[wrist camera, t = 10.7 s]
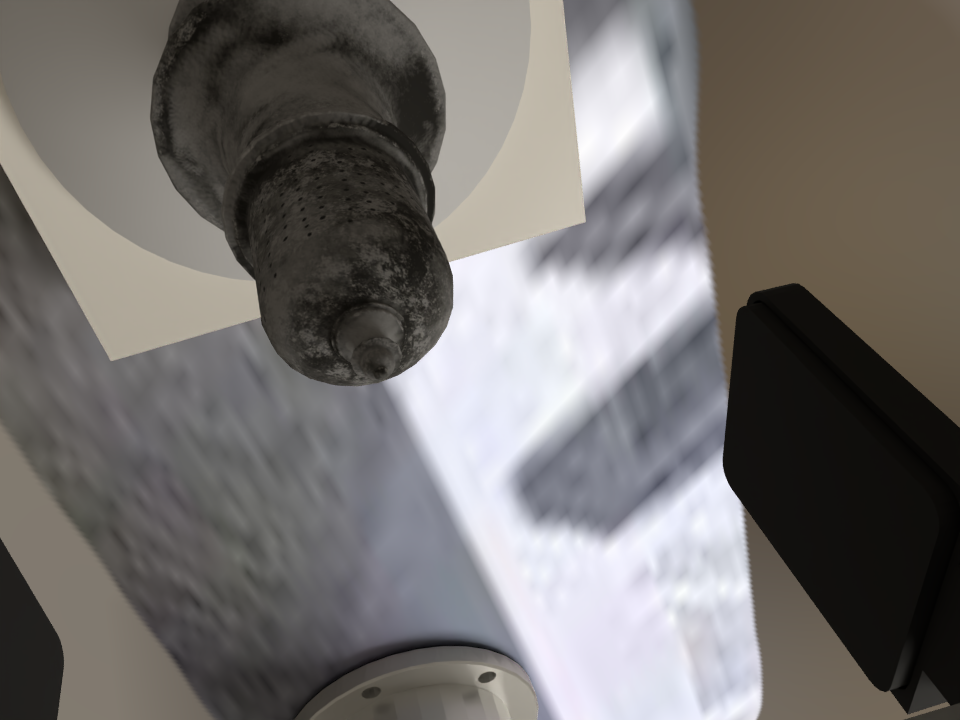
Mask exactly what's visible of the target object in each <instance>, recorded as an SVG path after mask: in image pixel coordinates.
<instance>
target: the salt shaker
mask: <svg viewBox="0 0 960 720" xmlns="http://www.w3.org/2000/svg"><path fill="white" fill-rule="evenodd" d="M150 122H151V126H152V131H153V136H154V140H155V145H156V150H157V154H158V157H159V159H160V161H161V163H162V165H163V167H164V169H165V170H166V172H167V174H168V176H169V178H170V180H171V182H172V184H173V186H174V187H175V189H176V190H177V192H178V193H179V194H180V195H181V196H182V197H183V198H184V199H185V200H186V201H187V202H188V203H189V204H190V206H191V207H192V208H193V209H194V210H195V211H196V212H197V213H198V214H199V215H200V216H201V217H202V218H204V219H205V220H207V221H208V222H210V223H211V224H213V225H215V226H216V227H218V228H219V229H221V230H222V231H224V232H225V238H226V240H227V242H228V244H229V246H230V248H231V250H232V252H233V254H234V256H235V258H236V260H237V262H238V263H239V264H240V265H241V266H242V267H243V268H244V269H245V270H246V271H247V272H248V274H249V275H250V276H251V277H252V278H253V279H254V280H255V281H256V288H257V295H258V302H259V309H260V315H261V322H262V326H263V328H264V330H265V332H266V334H267V336H268V338H269V340H270V342H271V344H272V346H273V347H274V349H275V351H276V352H277V354H278V355H279V356H280V357H281V358H282V359H283V360H284V361H285V362H286V363H287V364H288V365H289V366H290V367H291V368H292V369H294V370H296V371H298V372H299V373H301V374H303V375H305V376H307V377H308V378H310V379H314V380H317V381H321V382H325V383H328V384H332V385H341V386H362V385H368V384H374V383H379V382H382V381H384V380H387V379H390V378H392V377H395V376H398V375H399V374H401V373H402V372H404V371H406V370H407V369H409V368H410V367H412V366H413V365H415V364H416V363H417V362H418V361H419V360H420V359H421V358H422V357H423V356H424V355H425V354H426V353H427V352H428V351H430V350H431V349H432V348H433V347H434V346H435V344H436V343H437V341H438V340H439V338H440V337H441V335H442V333H443V332H444V330H445V329H446V327H447V324H448V321H449V318H450V315H451V311H452V308H453V275H452V272H451V269H450V265H449V262H448V259H447V256H446V253H445V251H444V249H443V247H442V245H441V243H440V241H439V239H438V237H437V234H436V232H435V230H434V228H433V226H432V222H433V219H434V215H435V185H434V182H433V179H432V175H431V173H432V171H433V169H434V167H435V166H436V164H437V161H438V157H439V154H440V150H441V146H442V142H443V138H444V134H445V131H446V93H445V89H444V86H443V82H442V79H441V75H440V71H439V68H438V64H437V61H436V58H435V56H434V55H433V53H432V51H431V50H430V48H429V46H428V45H427V43H426V41H425V40H424V38H423V36H422V35H421V33H420V31H419V30H418V28H417V26H416V25H415V24H414V23H413V22H412V21H411V20H410V19H409V18H408V17H407V16H406V15H405V14H404V13H403V12H402V11H401V10H400V9H399V8H397V7H396V6H395V5H394V4H393V3H392V2H391V1H390V0H179V2H178V5H177V7H176V10H175V13H174V15H173V18H172V20H171V23H170V26H169V31H168V41H167V43H166V46H165V48H164V51H163V53H162V56H161V59H160V61H159V64H158V66H157V69H156V71H155V74H154V77H153V84H152V97H151V110H150Z"/></svg>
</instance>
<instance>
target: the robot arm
mask: <svg viewBox="0 0 960 720" xmlns="http://www.w3.org/2000/svg"><path fill="white" fill-rule="evenodd" d="M723 468H724V473H725V476H726V479H727V481H728V483H729V485H730V487H731V488H732V490H733V491H734V493H735V494H736V495H737V497H738V498H739V500H740V501H741V502H742V504H743V505H744V506H745V508H746V509H747V511H748V512H749V513H750V515H751V516H752V518H753V519H754V520H755V522H756V523H757V524H758V526H759V527H760V529H761V530H762V531H763V533H764V534H765V536H766V537H767V538H768V540H769V541H770V543H771V544H772V545H773V547H774V548H775V550H776V551H777V552H778V554H779V555H780V557H781V558H782V559H783V560H784V562H785V563H786V565H787V566H788V568H789V569H790V570H791V572H792V573H793V575H794V576H795V577H796V579H797V580H798V582H799V583H800V584H801V586H802V587H803V588H804V590H805V591H806V593H807V594H808V595H809V597H810V598H811V600H812V601H813V602H814V604H815V605H816V607H817V608H818V609H819V611H820V612H821V613H822V615H823V616H824V618H825V619H826V620H827V622H828V623H829V625H830V626H831V627H832V629H833V630H834V631H835V633H836V634H837V636H838V637H839V638H840V640H841V641H842V643H843V644H844V645H845V647H846V648H847V650H848V651H849V652H850V654H851V655H852V657H853V658H854V659H855V661H856V662H857V663H858V665H859V666H860V668H861V669H862V670H863V672H864V673H865V674H866V676H867V677H868V679H869V680H870V681H871V682H872V684H873V685H874V686H875V687H876V688H878V689H879V690H881V691H884V692H886V691H889V690H890V691H891V692H892V694H893V695H894V696H895V698H896V699H897V701H898V702H899V703H900V705H901V706H902V707H903V709H904V710H905V711H906V713H907V714H911V713H914V712H917V711H920V710H923V709H926V708H929V707H932V706H935V705H938V704H941V703H945V702H948V703H949V704H950V706H948V707H945V708H942V709H938V710H935V711H932V712H928V713H925V714H922V715H918V716H915V717H911V718H908V719H905V720H960V428H959V427H958V426H957V425H956V424H955V423H954V422H953V421H952V420H951V419H949V418H948V417H947V416H946V415H945V414H944V413H943V412H942V411H940V410H939V409H938V408H937V407H936V406H935V405H934V404H933V403H932V402H930V401H929V400H928V399H927V398H926V397H925V396H924V395H923V394H922V393H921V392H920V391H918V390H917V389H916V388H915V387H914V386H913V385H912V384H911V383H910V382H908V381H907V380H906V379H905V378H904V377H903V376H902V375H901V374H900V373H898V372H897V371H896V370H895V369H894V368H893V367H892V366H891V365H890V364H888V363H887V362H886V361H885V360H884V359H883V358H882V357H881V356H879V354H877V353H876V352H875V351H874V350H873V349H872V348H871V347H870V346H868V345H867V344H866V343H865V342H864V341H863V340H862V339H861V338H860V337H859V336H857V335H856V334H855V333H854V332H853V331H852V330H851V329H850V328H849V327H847V326H846V325H845V324H844V323H843V322H842V321H841V320H840V319H839V318H837V317H836V316H835V315H834V314H833V313H832V312H831V311H830V310H829V309H828V308H826V307H825V306H824V305H823V304H822V303H821V302H820V301H819V300H818V299H816V298H815V297H814V296H813V295H812V294H811V293H810V292H809V291H808V290H806V289H805V288H804V287H803V286H801V285H800V284H795V283H792V284H788V285H784V286H779V287H775V288H771V289H767V290H762V291H758V292H755V293H753V294H751V295H750V297H749V299H748V302H747V306H743V307H741V308H740V309H739V310H738V312H737V317H736V326H735V337H734V347H733V357H732V369H731V378H730V388H729V399H728V409H727V420H726V430H725V441H724V451H723ZM63 667H64V657H63V650H62V645H61V642H60V639H59V637H58V635H57V633H56V631H55V629H54V628H53V626H52V624H51V623H50V621H49V619H48V618H47V616H46V614H45V613H44V611H43V609H42V607H41V606H40V604H39V603H38V601H37V599H36V598H35V596H34V594H33V592H32V591H31V589H30V587H29V586H28V584H27V582H26V581H25V579H24V577H23V575H22V574H21V572H20V571H19V569H18V567H17V565H16V564H15V562H14V560H13V559H12V557H11V555H10V554H9V552H8V550H7V548H6V547H5V545H4V543H3V542H2V540H1V539H0V720H57V716H58V707H59V699H60V692H61V684H62V677H63V669H64V668H63ZM538 708H539V707H538V702H537V697H536V693H535V691H534V688H533V686H532V683H531V681H530V678H529V676H528V674H527V673H526V672H525V671H524V670H523V668H522V667H521V666H520V665H519V664H517V663H516V662H514V661H513V660H511V659H510V658H508V657H506V656H504V655H501V654H498V653H496V652H493V651H490V650H487V649H481V648H474V647H468V646H438V647H430V648H421V649H415V650H411V651H407V652H403V653H398V654H394V655H391V656H388V657H385V658H382V659H380V660H377V661H374V662H371V663H368V664H366V665H364V666H362V667H360V668H358V669H356V670H354V671H352V672H350V673H348V674H346V675H344V676H342V677H341V678H339V679H338V680H336V681H335V682H333V683H332V684H330V685H329V686H327V687H326V688H324V689H323V690H322V691H321V692H320V693H319V694H317V695H316V696H315V697H314V698H313V699H312V700H311V701H310V702H308V703H307V704H306V705H305V707H304V708H303V709H302V710H301V712H300V713H299V714H298V715H297V717H296V718H295V719H294V720H537V716H538Z"/></svg>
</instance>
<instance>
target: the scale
mask: <svg viewBox="0 0 960 720" xmlns="http://www.w3.org/2000/svg"><path fill="white" fill-rule="evenodd" d="M390 1H391V2H392V3H393V4H394V5H395V6H396V7H397V8H399V9H400V10H401V11H402V12H403V13H404V14H405V15H406V16H407V17H408V18H409V19H410V20H411V21H412V22H413V23H414V24H415V25H416V26H417V28H418V30H419V31H420V33H421V35H422V36H423V38H424V40H425V41H426V43H427V45H428V46H429V48H430V50H431V51H432V53H433V55H434V56H435V58H436V61H437V64H438V68H439V71H440V75H441V79H442V82H443V86H444V89H445V93H446V131H445V134H444V138H443V142H442V146H441V150H440V154H439V157H438V161H437V164H436V166H435V167H434V169H433V171H432V173H431V175H432V179H433V182H434V185H435V215H434V219H433V222H432V226H433V228H434V230H435V232H436V234H437V237H438V239H439V241H440V243H441V245H442V247H443V249H444V251H445V253H446V256H447V259H448V262H451V261H454V260H458V259H461V258H465V257H468V256H471V255H475V254H478V253H482V252H485V251H488V250H492V249H495V248H499V247H502V246H506V245H509V244H512V243H516V242H519V241H523V240H526V239H529V238H533V237H536V236H540V235H543V234H546V233H550V232H553V231H557V230H560V229H563V228H567V227H570V226H574V225H577V224H580V223H584V222H586V220H585V211H584V201H583V191H582V182H581V172H580V162H579V153H578V143H577V134H576V124H575V114H574V105H573V95H572V85H571V76H570V66H569V57H568V47H567V37H566V28H565V18H564V8H563V0H390ZM178 2H179V0H0V164H1V166H2V167H3V169H4V171H5V173H6V174H7V176H8V178H9V180H10V182H11V183H12V185H13V187H14V189H15V191H16V192H17V194H18V196H19V198H20V199H21V201H22V203H23V205H24V207H25V208H26V210H27V212H28V214H29V216H30V217H31V219H32V221H33V223H34V225H35V226H36V228H37V230H38V232H39V233H40V235H41V237H42V239H43V241H44V242H45V244H46V246H47V248H48V250H49V251H50V253H51V255H52V257H53V258H54V260H55V262H56V264H57V266H58V267H59V269H60V271H61V273H62V275H63V276H64V278H65V280H66V282H67V283H68V285H69V287H70V289H71V291H72V292H73V294H74V296H75V298H76V300H77V301H78V303H79V305H80V307H81V308H82V310H83V312H84V314H85V316H86V317H87V319H88V321H89V323H90V325H91V326H92V328H93V330H94V332H95V333H96V335H97V337H98V339H99V341H100V342H101V344H102V346H103V348H104V350H105V351H106V353H107V355H108V357H109V358H110V360H111V361H114V360H117V359H120V358H124V357H127V356H131V355H134V354H137V353H141V352H144V351H148V350H151V349H155V348H158V347H161V346H165V345H168V344H172V343H175V342H178V341H182V340H185V339H189V338H192V337H195V336H199V335H202V334H206V333H209V332H212V331H216V330H219V329H223V328H226V327H229V326H233V325H236V324H240V323H243V322H247V321H250V320H253V319H257V318H260V317H261V315H260V309H259V302H258V295H257V288H256V281H255V280H254V279H253V278H252V277H251V276H250V275H249V274H248V272H247V271H246V270H245V269H244V268H243V267H242V266H241V265H240V264H239V263H238V262H237V260H236V258H235V256H234V254H233V252H232V250H231V248H230V246H229V244H228V242H227V240H226V238H225V232H224V231H222V230H221V229H219V228H218V227H216V226H215V225H213V224H211V223H210V222H208V221H207V220H205V219H204V218H202V217H201V216H200V215H199V214H198V213H197V212H196V211H195V210H194V209H193V208H192V207H191V206H190V204H189V203H188V202H187V201H186V200H185V199H184V198H183V197H182V196H181V195H180V194H179V193H178V192H177V190H176V189H175V187H174V186H173V184H172V182H171V180H170V178H169V176H168V174H167V172H166V170H165V169H164V167H163V165H162V163H161V161H160V159H159V157H158V154H157V150H156V145H155V140H154V136H153V131H152V126H151V122H150V110H151V97H152V84H153V77H154V74H155V71H156V69H157V66H158V64H159V61H160V59H161V56H162V53H163V51H164V48H165V46H166V43H167V41H168V31H169V26H170V23H171V20H172V18H173V15H174V13H175V10H176V7H177V5H178Z"/></svg>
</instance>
